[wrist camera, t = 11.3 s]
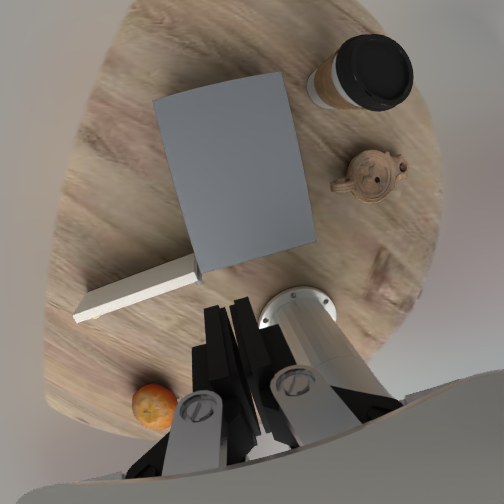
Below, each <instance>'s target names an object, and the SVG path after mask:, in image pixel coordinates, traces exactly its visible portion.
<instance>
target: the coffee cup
mask: <svg viewBox="0 0 504 504" xmlns="http://www.w3.org/2000/svg"><path fill="white" fill-rule="evenodd" d="M412 85H413V69H412V65H411V62H410V60H409V57H408V55H407V54H406V52H405V51H404V49H403V48H402V47H401V46H400V45H399V44H398V43H396V41H394V40H392V39H391V38H389V37H386V36H384V35H379V34H371V35H359V36H356V37H353V38H350V39H349V40H347V41H346V42H345V43H343V44H342V46H341V47H340V49H338V50H337V51H336V52H335V53H334V54H333V55H332V56H331V57H329V58H328V59H327V60H326V61H325V62H324V63H323V64H322V65H321V66H320V67H319V68H317V69H316V70H315V71H314V72H313V73H312V74H311V75H310V76H309V78H308V81H307V91H308V94H309V96H310V98H311V100H312V101H313V102H314V103H315V104H316V105H318V106H320V107H322V108H326V109H364V110H371V111H386V110H389V109H391V108H393V107H395V106H396V105H398V104H400V103H402V102H403V101H404V100H405V99H406V98H407V97H408V95H409V93H410V91H411V89H412Z"/></svg>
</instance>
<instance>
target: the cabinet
mask: <svg viewBox="0 0 504 504" xmlns="http://www.w3.org/2000/svg"><path fill="white" fill-rule="evenodd" d="M152 102H153V106H154V110H155V114H156V118H157V122H158V126H159V130H160V134H161V138H162V142H163V145H164V149H165V153H166V157H167V160H168V164H169V168H170V171H171V175H172V179H173V182H174V186H175V189H176V193H177V196H178V200H179V203H180V207H181V210H182V214H183V217H184V220H185V224H186V227H187V230H188V234H189V237H190V240H191V243H192V247H193V250H194V253H195V256H196V259H197V263H198V266H199V269H200V272H201V274H203V273H206V272H210V271H213V270H217V269H220V268H224V267H228V266H231V265H235V264H238V263H242V262H245V261H249V260H252V259H256V258H260V257H263V256H267V255H270V254H274V253H277V252H281V251H284V250H288V249H291V248H295V247H298V246H302V245H305V244H309V243H312V242H316V241H317V239H316V233H315V227H314V222H313V216H312V211H311V205H310V200H309V195H308V189H307V184H306V179H305V174H304V169H303V164H302V159H301V155H300V150H299V145H298V141H297V136H296V132H295V127H294V123H293V119H292V114H291V110H290V106H289V102H288V97H287V93H286V89H285V85H284V81H283V77H282V73H281V71H280V72H273V73H267V74H261V75H255V76H250V77H245V78H239V79H234V80H230V81H225V82H220V83H216V84H212V85H207V86H203V87H199V88H195V89H191V90H188V91H184V92H180V93H176V94H173V95H169V96H166V97H163V98H159V99H156V100H153V101H152Z"/></svg>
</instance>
